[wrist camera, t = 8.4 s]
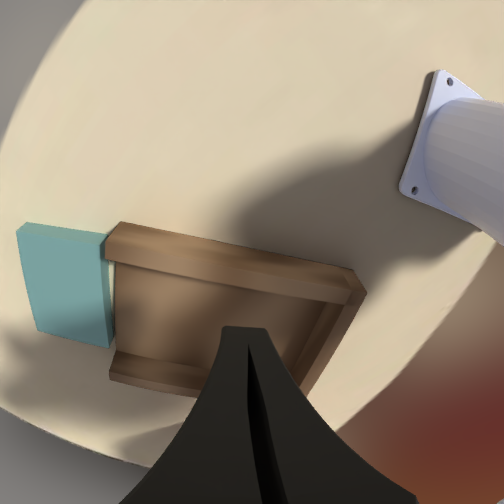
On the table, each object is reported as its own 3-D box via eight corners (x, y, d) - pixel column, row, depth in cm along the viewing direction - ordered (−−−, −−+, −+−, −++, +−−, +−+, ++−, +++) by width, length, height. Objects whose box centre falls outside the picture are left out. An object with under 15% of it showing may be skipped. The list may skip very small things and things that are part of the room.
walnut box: (352, 269, 19) (367, 292, 16) (294, 383, 23) (299, 407, 21) (120, 221, 16) (105, 241, 14) (117, 355, 21) (109, 379, 19)
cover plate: (110, 230, 17) (99, 245, 15) (115, 331, 21) (109, 348, 19) (30, 219, 16) (16, 231, 14) (46, 315, 20) (37, 330, 18)
